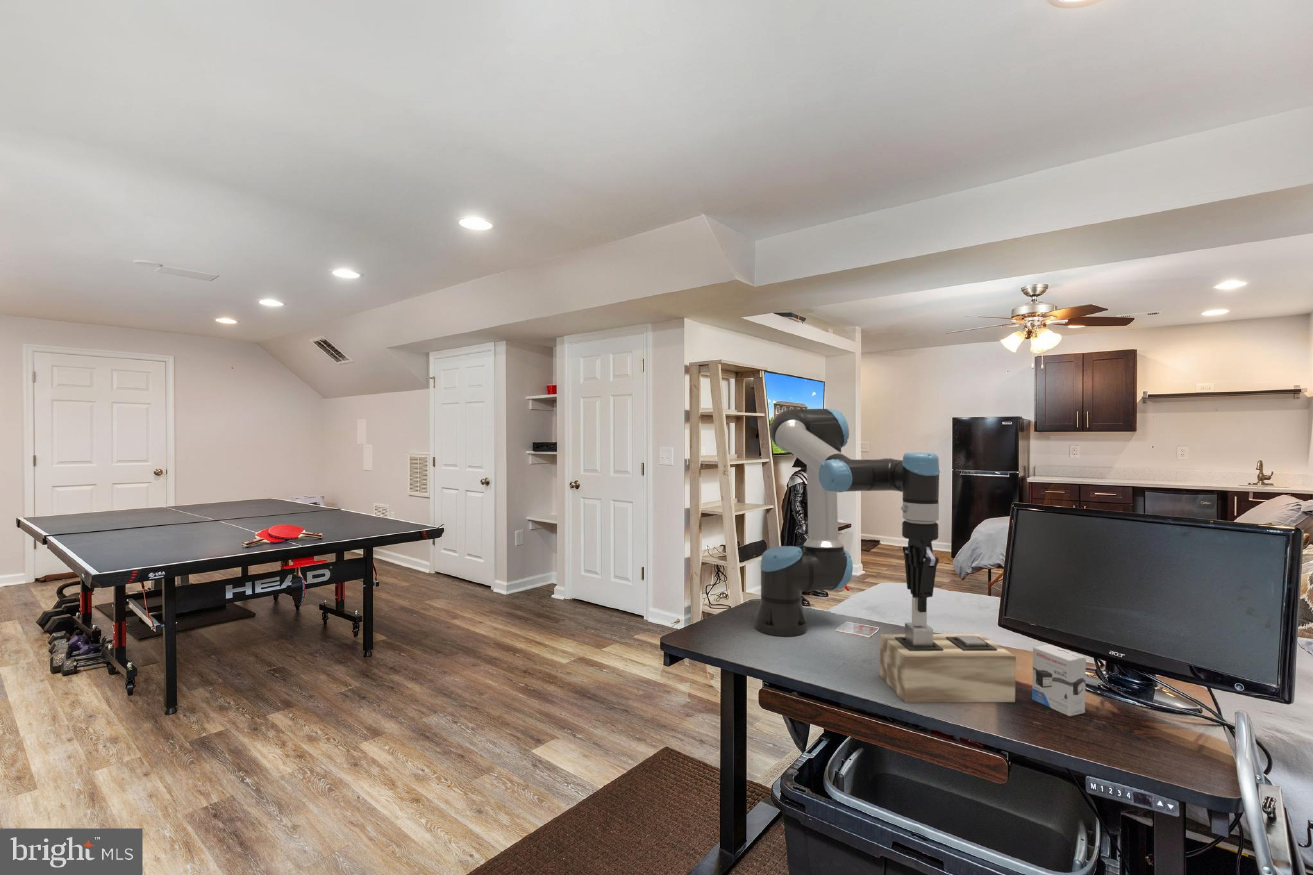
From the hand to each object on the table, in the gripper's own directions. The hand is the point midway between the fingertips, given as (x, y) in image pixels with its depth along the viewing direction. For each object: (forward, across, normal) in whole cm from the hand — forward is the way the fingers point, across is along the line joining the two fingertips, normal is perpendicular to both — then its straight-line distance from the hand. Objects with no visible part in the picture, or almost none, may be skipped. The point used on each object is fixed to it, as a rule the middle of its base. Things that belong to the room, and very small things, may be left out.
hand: (919, 624), depth 137 cm
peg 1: (+10, 0, 0) cm, 10 cm away
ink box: (+15, +9, +26) cm, 31 cm away
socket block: (+15, 0, +6) cm, 16 cm away
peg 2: (+13, 0, +12) cm, 18 cm away
